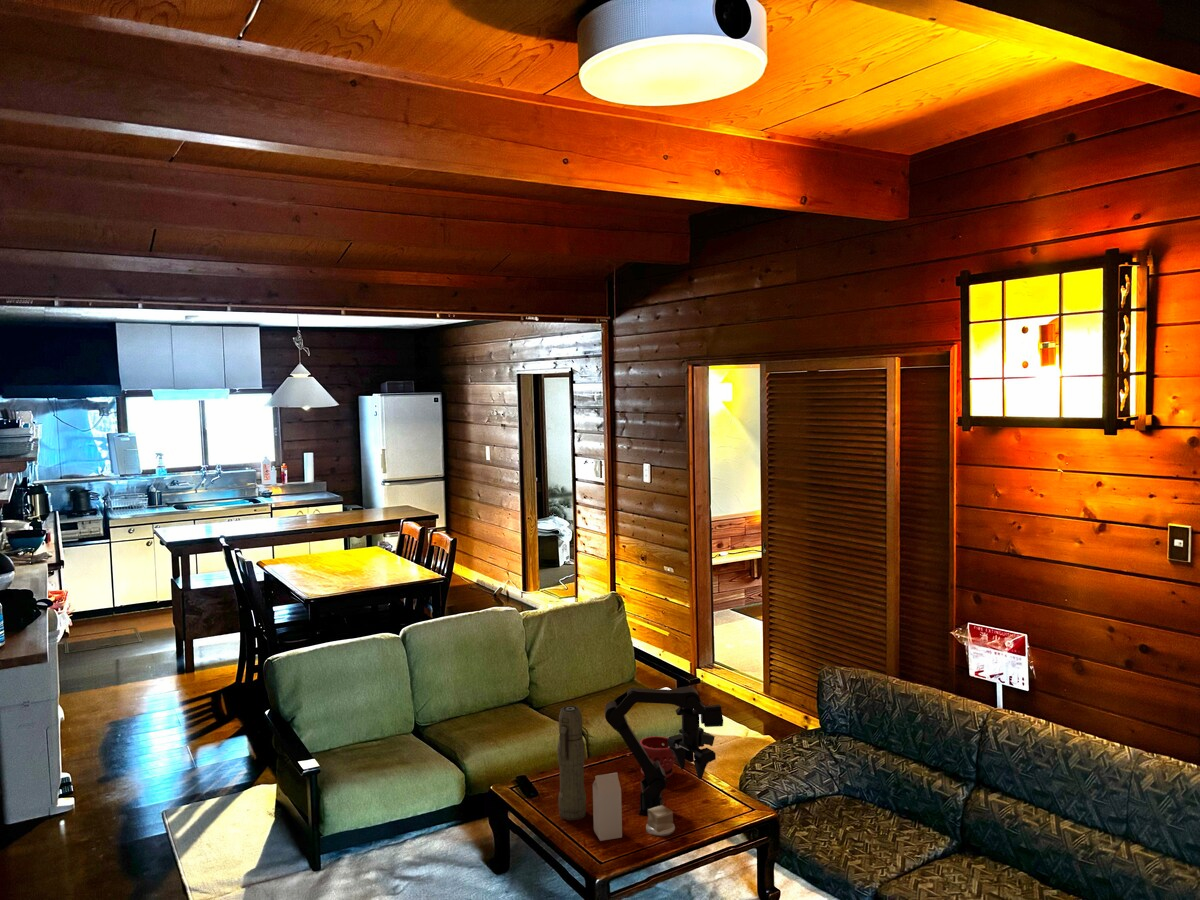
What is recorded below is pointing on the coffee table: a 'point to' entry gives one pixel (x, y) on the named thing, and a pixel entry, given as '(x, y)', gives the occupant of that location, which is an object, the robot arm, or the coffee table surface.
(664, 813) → the beige wooden cube
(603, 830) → the milk carton
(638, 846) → the coffee table surface
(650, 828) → the post stand
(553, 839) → the coffee table surface
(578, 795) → the thermos
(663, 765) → the plant pot
